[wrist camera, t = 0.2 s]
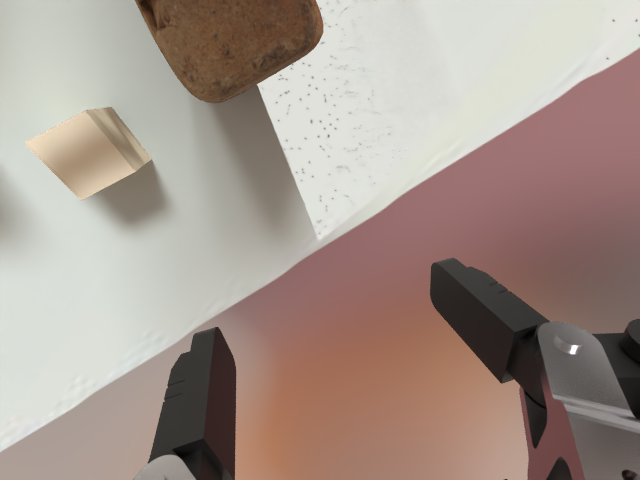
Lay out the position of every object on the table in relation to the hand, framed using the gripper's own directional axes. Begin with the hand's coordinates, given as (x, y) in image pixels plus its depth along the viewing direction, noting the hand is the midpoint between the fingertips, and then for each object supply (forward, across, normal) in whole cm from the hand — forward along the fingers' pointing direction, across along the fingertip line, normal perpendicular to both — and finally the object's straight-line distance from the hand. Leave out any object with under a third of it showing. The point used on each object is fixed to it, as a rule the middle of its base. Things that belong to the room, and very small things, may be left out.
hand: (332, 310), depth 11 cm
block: (+30, 0, -11) cm, 32 cm away
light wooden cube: (+30, +17, -4) cm, 34 cm away
